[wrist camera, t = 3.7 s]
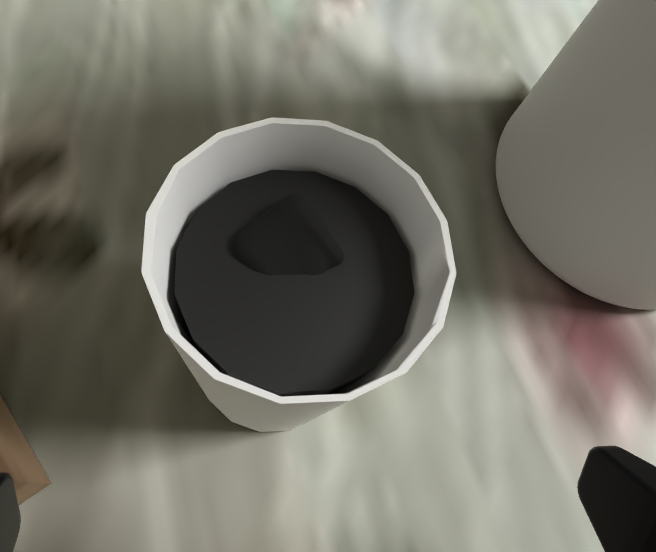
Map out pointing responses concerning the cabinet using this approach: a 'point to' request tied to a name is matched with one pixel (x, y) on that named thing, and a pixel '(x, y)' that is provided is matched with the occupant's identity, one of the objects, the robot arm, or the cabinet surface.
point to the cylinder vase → (590, 158)
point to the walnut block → (19, 458)
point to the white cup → (295, 268)
